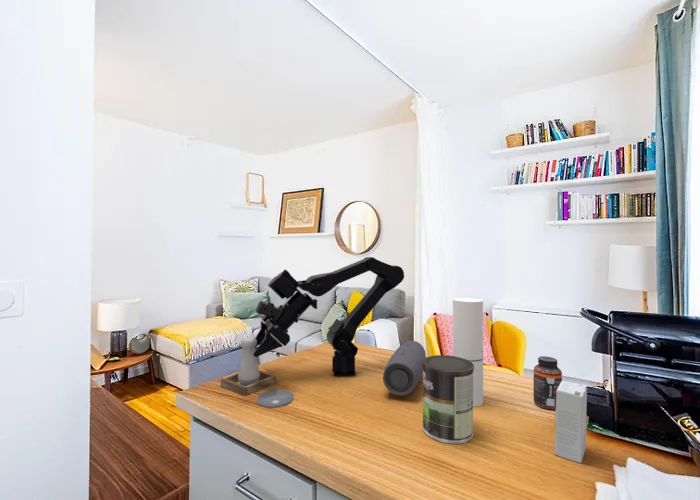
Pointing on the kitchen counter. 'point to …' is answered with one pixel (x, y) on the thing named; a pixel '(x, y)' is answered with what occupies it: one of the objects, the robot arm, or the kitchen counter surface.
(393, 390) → the bluetooth speaker
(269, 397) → the coaster
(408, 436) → the kitchen counter surface
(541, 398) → the supplement bottle
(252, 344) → the salt shaker
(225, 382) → the square wooden frame
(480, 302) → the cylindrical container
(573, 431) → the skincare box
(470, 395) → the coffee can
